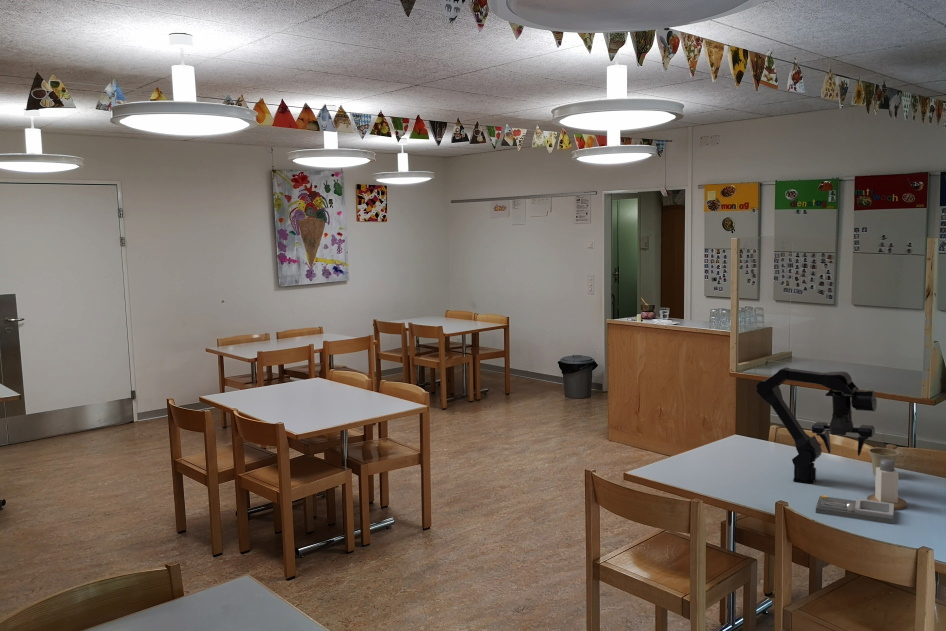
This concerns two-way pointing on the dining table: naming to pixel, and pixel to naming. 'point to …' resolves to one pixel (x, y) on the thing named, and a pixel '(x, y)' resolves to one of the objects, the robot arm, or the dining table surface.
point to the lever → (837, 504)
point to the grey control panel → (858, 509)
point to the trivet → (897, 506)
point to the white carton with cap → (886, 482)
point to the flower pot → (881, 456)
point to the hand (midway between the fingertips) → (844, 454)
